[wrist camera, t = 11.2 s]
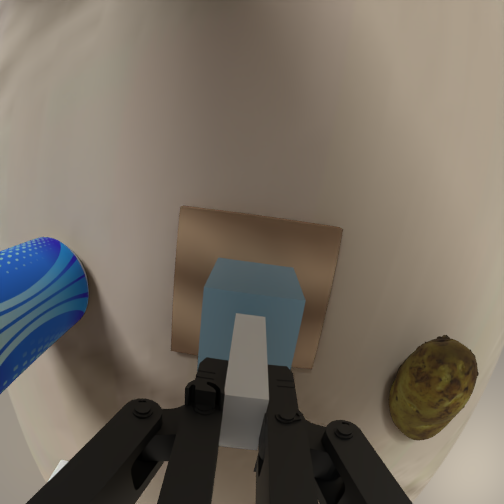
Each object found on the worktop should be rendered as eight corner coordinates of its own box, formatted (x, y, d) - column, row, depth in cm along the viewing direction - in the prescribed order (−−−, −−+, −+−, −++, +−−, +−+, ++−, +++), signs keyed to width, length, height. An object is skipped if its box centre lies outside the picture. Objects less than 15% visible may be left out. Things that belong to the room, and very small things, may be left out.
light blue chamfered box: (218, 257, 24) (203, 287, 17) (293, 267, 24) (305, 300, 18) (211, 325, 25) (197, 371, 19) (281, 334, 25) (287, 382, 19)
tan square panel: (183, 205, 24) (157, 216, 18) (339, 227, 24) (366, 244, 18) (173, 345, 27) (153, 388, 20) (310, 362, 27) (322, 409, 21)
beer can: (79, 224, 25) (-69, 279, 9) (107, 315, 26) (1, 428, 11) (16, 245, 25) (-109, 298, 10) (43, 324, 27) (-58, 411, 11)
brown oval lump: (358, 424, 29) (378, 479, 21) (396, 315, 26) (438, 361, 18) (423, 419, 29) (450, 466, 21) (465, 318, 26) (512, 356, 18)
